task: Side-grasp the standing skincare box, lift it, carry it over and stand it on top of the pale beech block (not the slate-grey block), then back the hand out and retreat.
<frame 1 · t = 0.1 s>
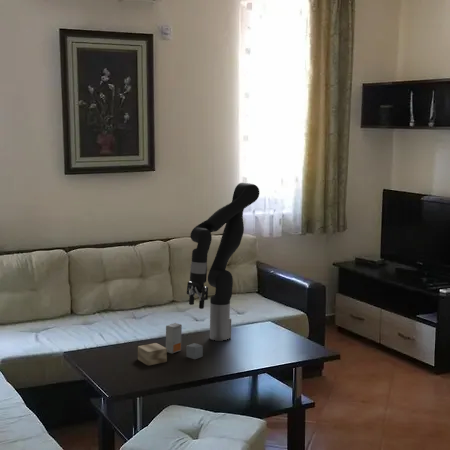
hand: (196, 306, 315), 17 cm above the table, tool pointing down, fingers open, 8 cm apart
slate block: (194, 356, 298), on the table
skincare box: (173, 351, 305), on the table
beech block: (152, 361, 292), on the table
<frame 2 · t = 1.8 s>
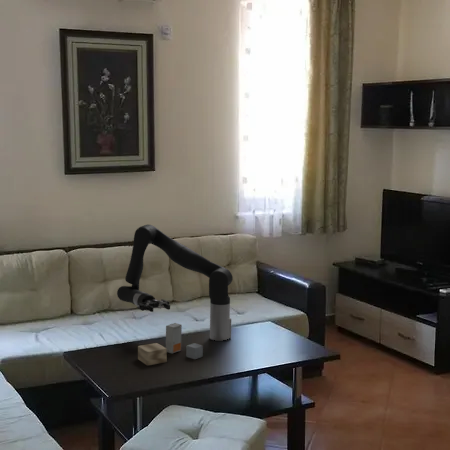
hand: (161, 308, 311), 17 cm above the table, tool horizontal, fingers open, 8 cm apart
nothing on the table moved.
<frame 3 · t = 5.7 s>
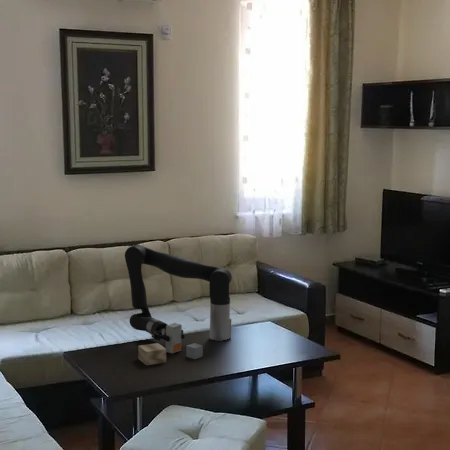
hand: (176, 337, 302), 7 cm above the table, tool horizontal, fingers closed on skincare box, 7 cm apart
skincare box: (173, 351, 305), on the table, touching gripper
everything else where it was.
when the fingers open (13 cm above the table, at t = 10.1 s): skincare box stays where it is, point 6 cm above the table.
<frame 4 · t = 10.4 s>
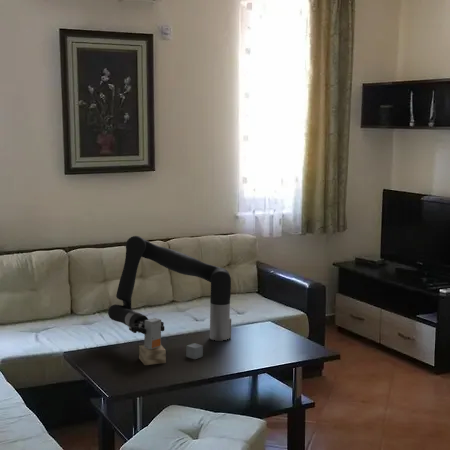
hand: (154, 330, 289), 14 cm above the table, tool horizontal, fingers open, 8 cm apart
skincare box: (152, 347, 291), point 6 cm above the table
everything else where it was.
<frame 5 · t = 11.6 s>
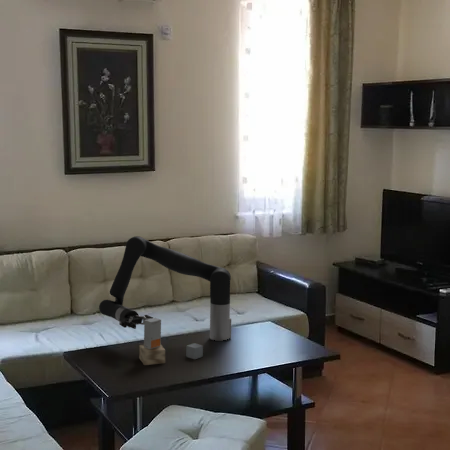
hand: (144, 325, 296), 14 cm above the table, tool horizontal, fingers open, 8 cm apart
nothing on the table moved.
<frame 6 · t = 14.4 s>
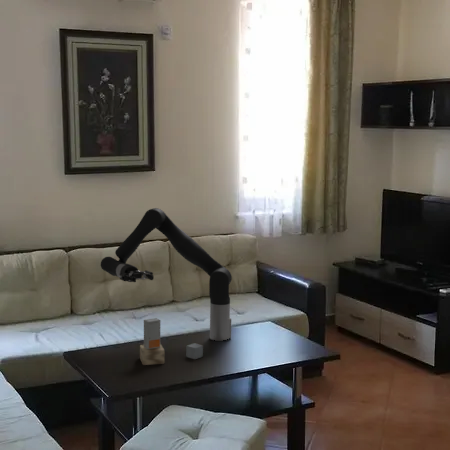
hand: (143, 278, 302), 32 cm above the table, tool horizontal, fingers open, 8 cm apart
skincare box: (152, 347, 291), point 6 cm above the table, touching beech block
beech block: (152, 361, 292), on the table, touching skincare box
everything else where it was.
at the end: skincare box inside the target area on the beech block (0.1 cm from its centre), point 5.9 cm above the beech block's base; skincare box tilted 2°; the gripper is holding nothing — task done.
